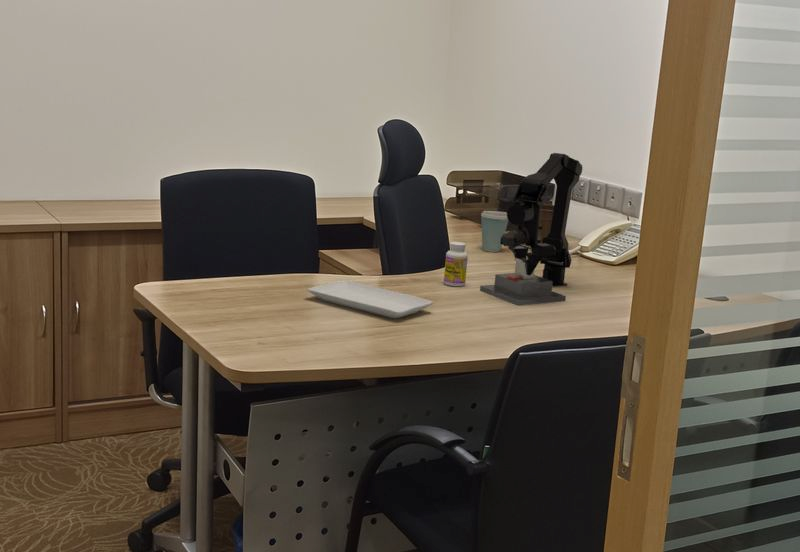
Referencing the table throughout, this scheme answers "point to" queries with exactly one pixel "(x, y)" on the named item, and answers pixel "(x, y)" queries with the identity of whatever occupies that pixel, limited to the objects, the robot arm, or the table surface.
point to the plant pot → (545, 221)
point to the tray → (370, 298)
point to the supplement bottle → (456, 265)
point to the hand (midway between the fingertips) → (524, 273)
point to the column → (522, 269)
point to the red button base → (522, 290)
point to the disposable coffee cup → (493, 229)
